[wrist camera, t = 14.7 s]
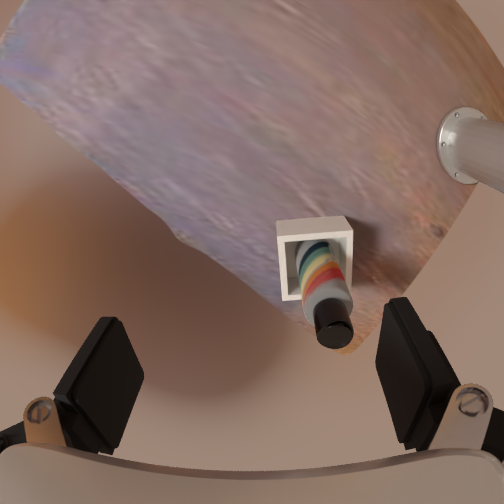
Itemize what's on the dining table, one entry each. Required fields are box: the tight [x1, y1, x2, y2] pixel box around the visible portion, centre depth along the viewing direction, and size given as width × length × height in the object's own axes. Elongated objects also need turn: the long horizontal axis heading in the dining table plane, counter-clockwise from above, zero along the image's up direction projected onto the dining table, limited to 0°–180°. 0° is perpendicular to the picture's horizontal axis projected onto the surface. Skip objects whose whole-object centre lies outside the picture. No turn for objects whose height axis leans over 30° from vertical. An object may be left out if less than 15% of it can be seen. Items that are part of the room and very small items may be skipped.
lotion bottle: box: [295, 239, 354, 349], centre depth 39 cm, size 6×6×20 cm
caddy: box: [276, 215, 353, 301], centre depth 46 cm, size 10×10×6 cm
